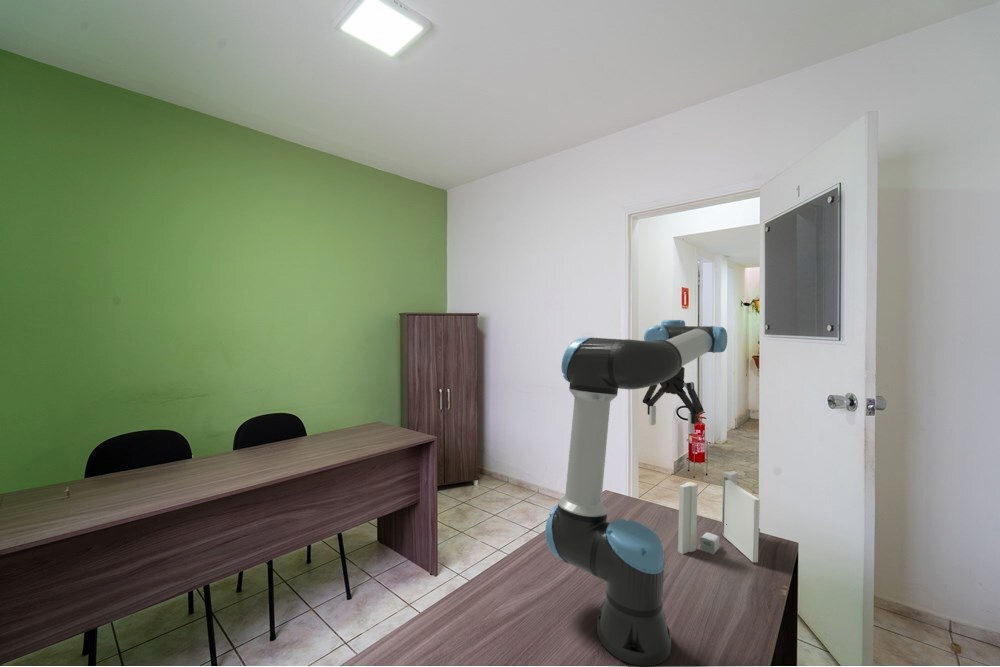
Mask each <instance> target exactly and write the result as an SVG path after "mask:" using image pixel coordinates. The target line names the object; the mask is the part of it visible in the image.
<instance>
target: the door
mask: <svg viewBox="0 0 1000 667" xmlns="http://www.w3.org/2000/svg"><path fill="white" fill-rule="evenodd" d="M760 502H761V501H760V499H759V498H758V497H757V496H755V495H753V494H752V493H750V492H748V490H745V489H744V488H742V487H741V486H739V485H736V484H735V483H733V482H732V481H730V480H725V503H724V534H723V537H724V538H725V539H727V541H729V543H730V544H732V545H733V547H735V548H736V549H737V550H739V552H741V553H742V554H743V555H744V556H745V557H746V558H747V559H749V560H750V561H751V562H752V563H758V562H759V539H760V538H759V537H760V534H759V533H760V531H761V530H760V504H761V503H760ZM726 524H727V525H726Z"/></svg>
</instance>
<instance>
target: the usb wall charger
mask: <svg viewBox="0 0 1000 667" xmlns="http://www.w3.org/2000/svg"><path fill="white" fill-rule="evenodd" d="M720 540H721V539H720V536H719V535H716V534H714V533H711V532H708V531H706V532H705V533H704V534H703V535H702V536H701V537H700V544H699V545H700V546H699V548H700V550H701V551H703V552H706V553H708V554H711V555H715V553H717V551H718V550H719V549H720Z"/></svg>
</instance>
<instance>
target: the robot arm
mask: <svg viewBox="0 0 1000 667" xmlns="http://www.w3.org/2000/svg"><path fill="white" fill-rule="evenodd" d="M660 323H661V324H660V325H658V324H657V325H653V326H650V327H647V329H646V330H645V332H644V333H643V340H638V339H630V338H629V339H628V338H627V339H617V338H603V337H581V338H577V339H575V340H573V341H572V342H571V343H570V344H569V345H568V346H567V347H566V349H565V351H564V353H563V355H562V360H561V372H562V376H563V378H564V380H565V381H566V382H568V383H569V387H568V388H569V390H568V391H569V392H570V393H571V394H572V395H573V397H574V401H573V412H572V422H571V433H570V444H569V453H568V464H567V474H566V486H565V495H564V496H563V497H562V498H560V499H559V500H558V502H557V504H556V505H555V506H553V508H552V509H551V510H550V511H549V517H547V519H546V523H545V530H544V531H545V541H546V544H547V547H548V549H549V550H550V552H551V553H552V554H553V555H554V556H555V557H557V558H558V559H560V560H562V561H563V562H564V563H566V564H569V565H571V566H574V567H575V568H577V569H580V570H581V571H584V572H586V573H588V574H589V575H592V576H594V577H595V578H598V579H600V580H602V581H604V582H605V597H604V599H603V603H602V605H601V608H600V611H599V613H598V615H597V622H596V624H597V625H596V627H597V628H596V631H597V637H598V639H599V641H600V643H601V645H602V646H603V647H604V649H606V651H608V652H609V653H610V655H612V656H614V657H615V658H617V659H619V660H620V661H622V662H624V663H627V664H629V665H633V666H637V667H638V666H639V667H654V666H657V665H660V664H662V663H664V662H666V660H667V659H668V658H669V656H670V655H671V651H672V650H671V649H672V637H671V631H670V629H669V626H668V623H667V618H666V615H665V612H664V609H663V607H664V605H663V603H664V578H665V577H664V575H665V574H664V573H665V570H664V569H665V557H664V546H663V542H662V540H661V539H660V537H659V536H658V534H657V533H656V532H655V531H654V530H652V529H651V528H650V527H649V526H647V525H645V524H643V523H640V522H638V521H636V520H633V519H628V520H627V519H626V518H625V519H624V518H618V519H613V520H611V521H610V522H608V521H607V520H608V519H607V518H608V509H607V507H606V506H605V505H604V504H603V502H602V500H603V487H604V477H605V467H606V466H605V465H606V464H605V463H606V457H607V456H606V455H607V444H608V443H607V440H608V432H609V422H610V421H609V419H610V408H611V402H612V401H613V400H614V399H616V398H617V397H618V392H619V389H621V390H627V391H628V390H639V389H643V388H648V389H647V391H646V393H645V395H644V397H643V398H642V401H641V402H642V403H643V404H645V405H647V415H649V419H648V422H649V424H648V425H649V426H654V425H656V418H657V417H656V416H657V415H656V413H657V406H656V403H657V402H658V401H659V400H660V399H661V397H663V395H664V394H672V395H676V396H677V397H679V399H680V400H681V401H682V403H683V404H684V405H685V407H686V409H687V410H688V411H689V412H690V413H688V414H687V434H688V435H692V434H695V425H696V424H697V423H698V414H700V413H703V412H704V407H703V405H702V403H701V401H700V399H699V396H698V394H697V392H696V390H695V383H694V382H692V381H690V382H685V371H686V370H685V368H686V367H685V366H686V365H687V364H689V363H691V362H693V361H695V360H697V359H698V358H700V357H701V356H703V355H705V354H707V353H713V354H714V353H724V352H725V351H726V349H727V345H728V333H727V330H726V328H725V327H723V326H715V325H711V326H710V325H709V326H708V325H707V326H706V325H705V326H704V325H703V326H702V325H701V326H699V325H697V326H695V325H694V326H693V325H692V326H690V325H689V326H687V325H686V322H685V320H683V319H663V320H661V322H660ZM659 385H660V388H658V390H657V391H656V389H657V387H658V386H659ZM684 388H685V389H686V390H687V393H688V395H687V393H686V391H685V389H684ZM655 391H656V393H655ZM688 396H689V397H688Z"/></svg>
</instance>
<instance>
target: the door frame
mask: <svg viewBox="0 0 1000 667" xmlns="http://www.w3.org/2000/svg"><path fill="white" fill-rule="evenodd" d="M722 476H723V478H722V507H721V508H722V510H721V512H722V513H721V534H722V535H724V503H725V480H730V481H732V482H733V483H735V484H736V485H738V484H739V483H738V481H739V472H737V471H735V470H732V471H724V472H723V474H722ZM738 486H739V485H738ZM678 488H679V489H678V490H679V491H678V496H679V497H678V527H677V528H678V530H677V532H678V534H677V535H678V536H677V537H678V538H677V540H678V541H677V553H678V554H679V553H680V554H681V555H684V554H687V553H693V552H695V551H696V550H697V531H698V530H697V527H698V526H697V525H698V524H697V523H698V518H697V517H698V484H697V483H695V482H693V481H687V482H684V484H681V485H679V487H678Z"/></svg>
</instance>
